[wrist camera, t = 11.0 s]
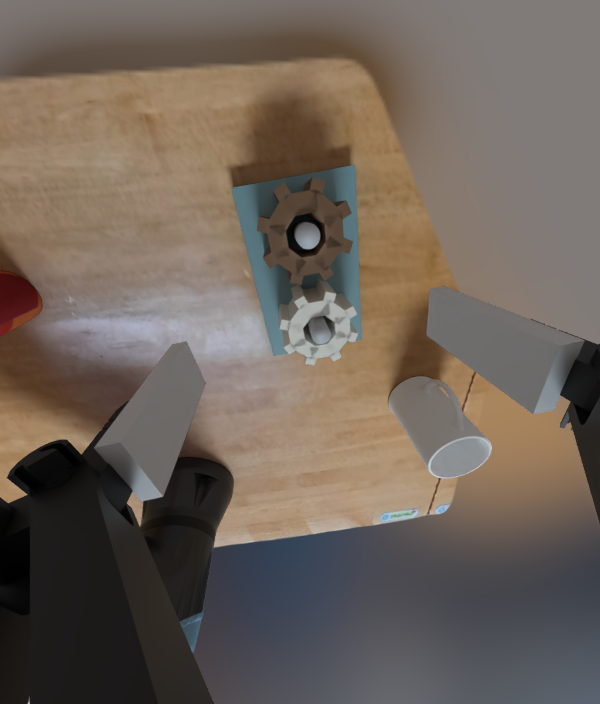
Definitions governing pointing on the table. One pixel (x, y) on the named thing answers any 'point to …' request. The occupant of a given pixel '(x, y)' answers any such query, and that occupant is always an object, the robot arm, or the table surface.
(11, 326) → the paper cup
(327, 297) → the cream gear
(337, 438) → the table surface
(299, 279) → the walnut gear
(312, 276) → the gear board
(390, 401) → the mug
